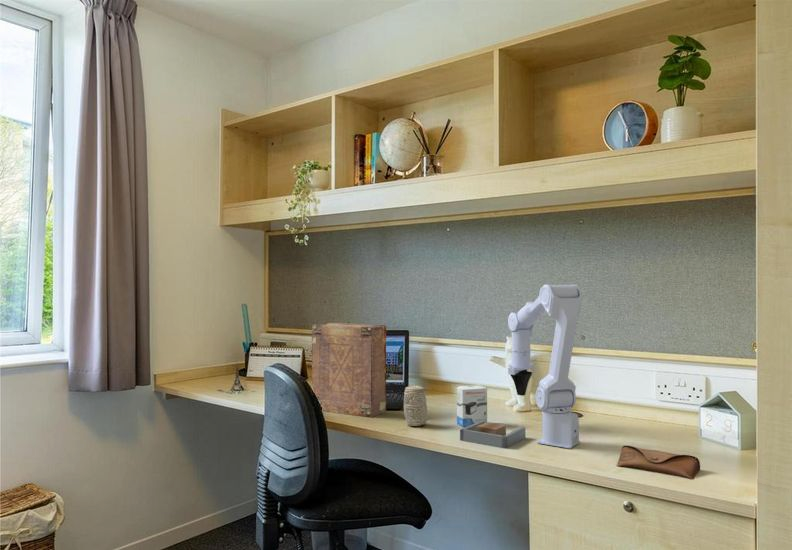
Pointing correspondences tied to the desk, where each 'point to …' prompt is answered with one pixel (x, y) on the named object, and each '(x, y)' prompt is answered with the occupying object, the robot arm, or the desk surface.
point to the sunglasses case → (659, 462)
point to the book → (349, 368)
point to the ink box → (471, 405)
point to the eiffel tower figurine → (236, 385)
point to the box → (491, 436)
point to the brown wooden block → (492, 428)
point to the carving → (415, 406)
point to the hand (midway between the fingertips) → (521, 395)
